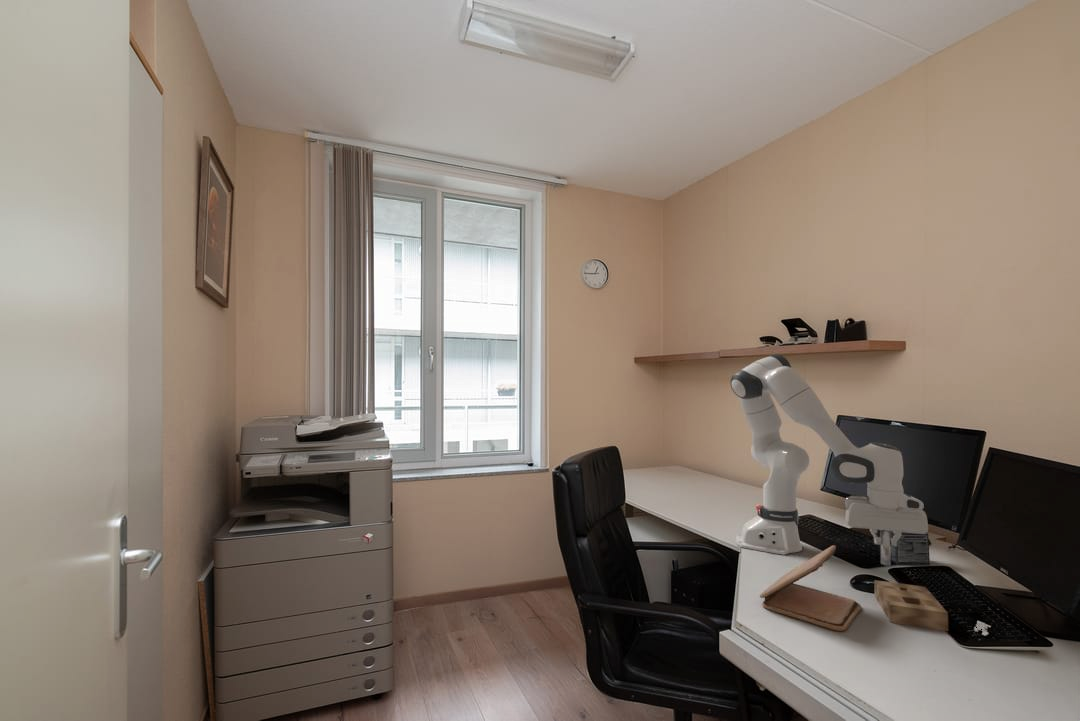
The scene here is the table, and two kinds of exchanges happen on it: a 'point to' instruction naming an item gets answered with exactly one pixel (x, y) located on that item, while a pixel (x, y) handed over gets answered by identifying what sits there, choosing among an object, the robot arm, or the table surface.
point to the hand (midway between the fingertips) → (885, 544)
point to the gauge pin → (885, 548)
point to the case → (810, 598)
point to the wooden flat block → (910, 605)
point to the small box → (911, 549)
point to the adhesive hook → (981, 626)
